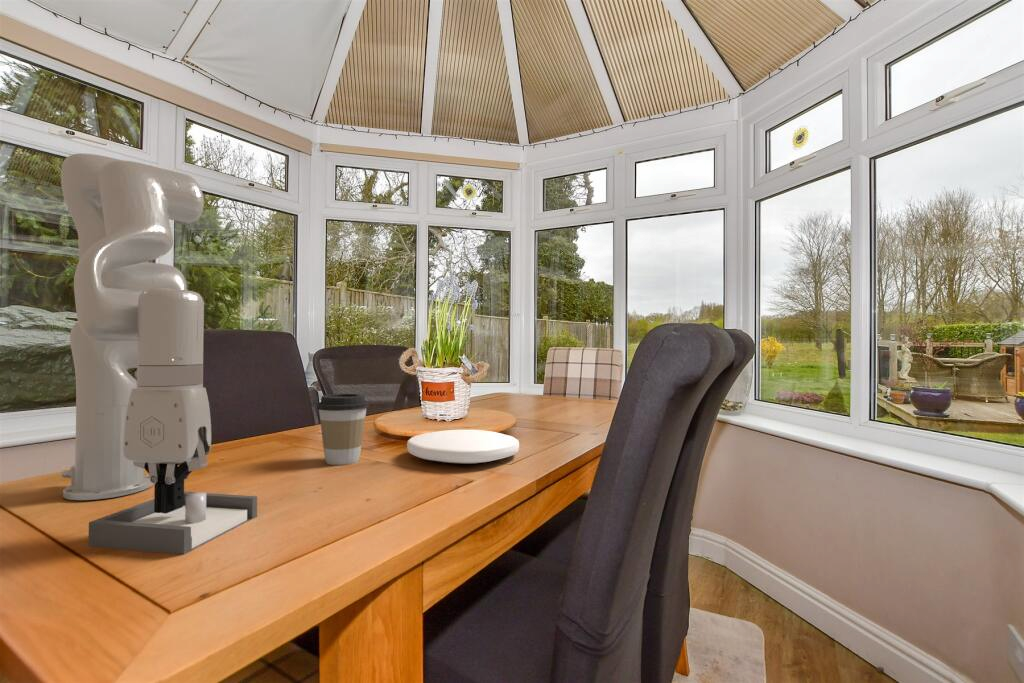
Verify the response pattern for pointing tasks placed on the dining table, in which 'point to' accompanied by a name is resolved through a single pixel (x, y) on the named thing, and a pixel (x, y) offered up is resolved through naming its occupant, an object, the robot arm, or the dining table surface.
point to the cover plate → (201, 528)
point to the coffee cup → (342, 427)
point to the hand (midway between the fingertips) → (169, 509)
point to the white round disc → (463, 446)
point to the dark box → (158, 527)
